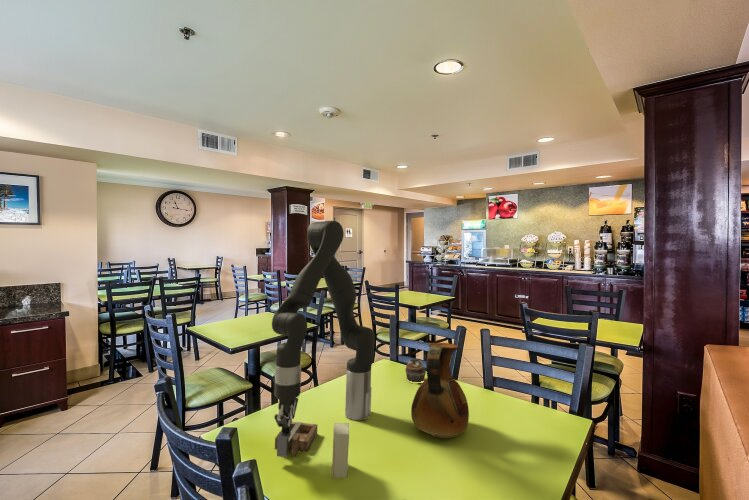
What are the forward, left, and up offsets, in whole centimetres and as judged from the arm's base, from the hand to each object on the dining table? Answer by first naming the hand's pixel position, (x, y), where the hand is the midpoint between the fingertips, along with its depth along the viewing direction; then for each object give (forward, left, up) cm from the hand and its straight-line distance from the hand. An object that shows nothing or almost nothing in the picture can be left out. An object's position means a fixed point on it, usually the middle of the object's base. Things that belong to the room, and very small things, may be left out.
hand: (286, 437), depth 104 cm
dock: (0, -8, -6) cm, 10 cm away
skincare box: (-17, +3, -6) cm, 19 cm away
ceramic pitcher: (-46, -25, -6) cm, 53 cm away
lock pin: (0, -4, -4) cm, 5 cm away
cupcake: (-37, -68, -6) cm, 78 cm away
